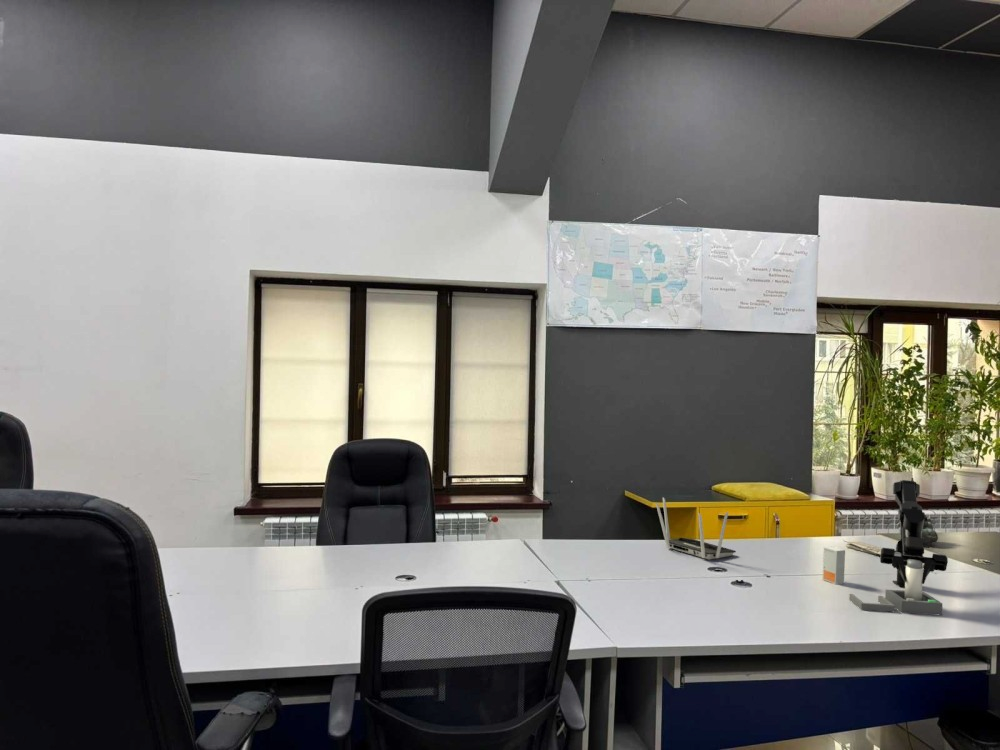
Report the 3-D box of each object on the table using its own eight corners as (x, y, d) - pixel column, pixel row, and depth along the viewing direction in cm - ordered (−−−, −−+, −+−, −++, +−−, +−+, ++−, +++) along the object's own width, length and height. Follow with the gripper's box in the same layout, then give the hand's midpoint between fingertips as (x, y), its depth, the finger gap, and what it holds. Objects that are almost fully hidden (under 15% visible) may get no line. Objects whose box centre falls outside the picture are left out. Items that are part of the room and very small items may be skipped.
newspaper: (939, 567, 285) (939, 558, 285) (919, 570, 279) (919, 560, 279) (859, 546, 316) (859, 538, 316) (840, 548, 311) (840, 540, 311)
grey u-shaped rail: (849, 599, 237) (849, 593, 237) (881, 601, 236) (881, 595, 236) (861, 609, 227) (861, 603, 227) (894, 611, 226) (894, 605, 226)
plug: (900, 599, 233) (902, 559, 232) (913, 598, 234) (914, 558, 234) (912, 604, 228) (914, 563, 228) (925, 603, 229) (926, 562, 229)
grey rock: (899, 543, 321) (892, 513, 328) (904, 550, 330) (897, 520, 336) (937, 539, 313) (929, 508, 320) (941, 545, 322) (933, 515, 328)
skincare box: (821, 579, 259) (823, 546, 259) (830, 578, 261) (831, 545, 261) (835, 584, 254) (837, 550, 254) (844, 583, 255) (845, 550, 255)
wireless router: (747, 559, 285) (749, 509, 285) (709, 566, 272) (710, 514, 272) (682, 541, 313) (684, 495, 313) (644, 547, 300) (646, 499, 300)
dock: (885, 600, 237) (885, 587, 237) (923, 602, 236) (924, 590, 236) (901, 612, 225) (901, 599, 225) (942, 615, 224) (942, 601, 224)
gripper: (882, 523, 238) (882, 564, 228) (948, 530, 230) (951, 573, 220) (879, 541, 245) (880, 582, 235) (943, 549, 237) (947, 591, 228)
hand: (914, 582), depth 229 cm, fingers closed on plug, 5 cm apart
